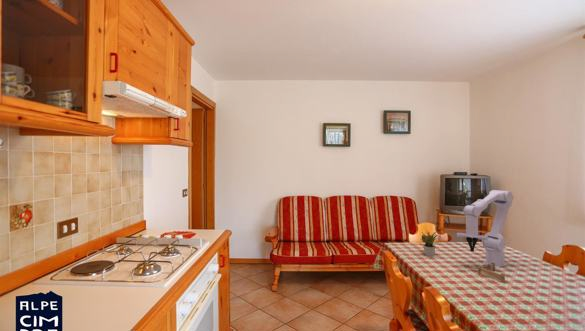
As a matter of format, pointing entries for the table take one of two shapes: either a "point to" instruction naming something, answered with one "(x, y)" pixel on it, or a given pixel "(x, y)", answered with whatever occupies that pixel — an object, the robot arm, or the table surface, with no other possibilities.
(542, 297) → the table surface
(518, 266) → the table surface
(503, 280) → the fence fixed
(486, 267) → the fence panel
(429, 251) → the house plant
